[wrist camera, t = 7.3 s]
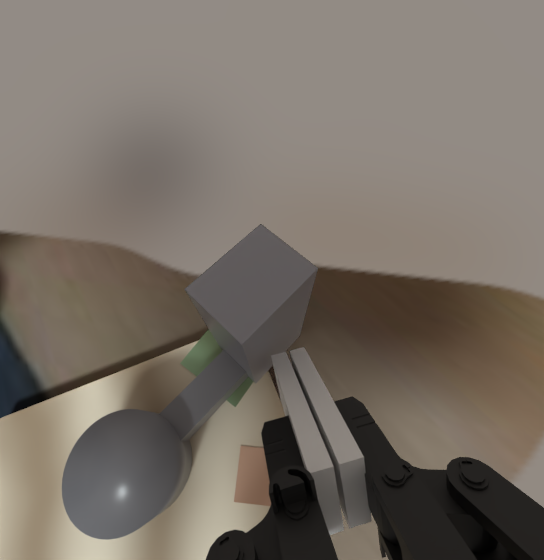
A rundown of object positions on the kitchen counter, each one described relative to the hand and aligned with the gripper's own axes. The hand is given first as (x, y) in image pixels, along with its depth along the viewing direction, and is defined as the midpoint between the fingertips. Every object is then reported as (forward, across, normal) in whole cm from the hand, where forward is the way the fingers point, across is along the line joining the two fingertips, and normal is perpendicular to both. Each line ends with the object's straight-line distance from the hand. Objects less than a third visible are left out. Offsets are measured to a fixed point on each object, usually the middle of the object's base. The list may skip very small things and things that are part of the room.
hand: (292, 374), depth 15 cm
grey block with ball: (+3, -5, -2) cm, 6 cm away
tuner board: (+2, -9, -5) cm, 10 cm away
